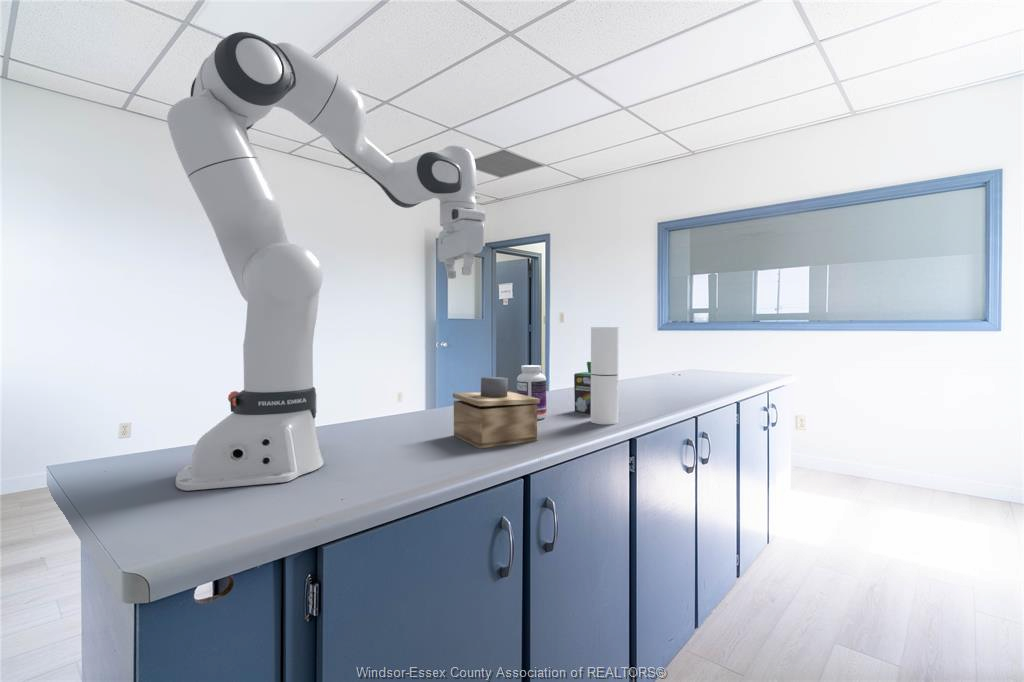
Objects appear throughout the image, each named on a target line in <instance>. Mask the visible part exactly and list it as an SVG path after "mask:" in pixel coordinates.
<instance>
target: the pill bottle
mask: <svg viewBox="0 0 1024 682" xmlns="http://www.w3.org/2000/svg"><path fill="white" fill-rule="evenodd" d="M520 368H521V372H522V373H521V374H518V376H517V378H516V393H518V394H522V395H526V396H530V397H534V398H538V399H540V403H538V404H536V405H537V421H538V420H542V419H544V418H546V416H547V378H546V376H545V374H543V373H541V372H542V365H537V364H536V365H535V364H530V365H529V364H525V365H521V367H520Z"/></svg>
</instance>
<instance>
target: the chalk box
mask: <svg viewBox="0 0 1024 682" xmlns="http://www.w3.org/2000/svg"><path fill="white" fill-rule="evenodd" d="M586 367H587V371H584V372H583V371H582V372H575V373H574V374H573V381H574V382H573V384H574V386H573V389H574V390H573V391H574V412H580V413H585V414H590V415H591V361H587V362H586Z"/></svg>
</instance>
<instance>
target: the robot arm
mask: <svg viewBox="0 0 1024 682" xmlns="http://www.w3.org/2000/svg"><path fill="white" fill-rule="evenodd" d="M274 107H275V108H280V109H284V110H286V111H288V112H290V113H292V114H293V115H294V116H295V117H296V118H298V119H299V120H301V121H302V122H303V123H305V124H306V125H307V126H309V127H311V128H312V129H313V130H315V131H316V132H318V133H319V134H320V135H322V136H323V138H325V139H326V140H327V141H329V143H330V144H331V145H332V147H333V148H334V149H335V150H336V151H337V152H338V153H339V154H341V156H343V157H344V158H345V159H346V160H347V161H348V162H350V163H351V164H353V165H354V166H355V167H356V168H357V169H359V170H360V171H361V172H362V173H364V174H365V175H366V176H368V177H369V178H370V179H371V180H372V181H374V183H376V184H377V185H378V187H380V188H381V189H382V190H383V191H384V193H385V195H386V196H387V197H388V198H389V199H390V201H392V203H394V204H395V205H396V206H399V207H401V208H404V209H405V208H406V209H409V208H413V207H416V206H417V205H419V204H421V203H425V202H428V201H430V200H432V199H437V200H439V226H440V227H442V228H443V229H442V230H440V231H439V234H438V238H437V239H438V240H437V260H438V262H443V263H444V267H445V270H446V277H447V279H449V280H451V279H452V280H453V279H456V276H457V271H456V269H455V264H456V263H455V261H457V260H458V261H459V260H461V259H463V266H462V267H461V274H462V275H463V276H470V275H472V266H473V265H474V264H473V263H474V260H475V255H477V254H481V253H482V251H483V250H484V249H483V248H484V244H485V243H484V241H485V225H484V222H485V221H486V212H485V211H482V210H479V209H478V204H477V201H476V194H477V193H476V192H477V189H478V180H477V179H478V177H477V175H478V172H477V167H476V161H475V157H474V155H473V153H472V152H471V151H470V150H469V149H467V148H465V147H463V146H460V145H459V146H458V145H448V146H446V147H444V148H443V149H441V150H439V151H435V152H434V151H427V152H424V153H420V154H419V155H416V156H414V157H412V158H410V159H409V160H406V161H402V162H401V161H396V160H393V159H391V158H390V157H389V156H387V155H386V154H385V153H384V152H383V151H382V150H380V148H378V147H377V146H376V145H375V144H373V143H372V142H371V141H370V140H369V139H368V137H367V136H366V135H365V133H364V127H365V124H366V121H367V120H366V119H367V109H366V104H365V101H364V99H363V97H362V95H361V94H360V93H359V92H358V91H357V89H356V88H355V87H354V86H353V85H352V84H351V83H350V82H348V81H347V80H346V79H345V78H343V77H342V76H341V75H340V74H338V73H337V72H336V71H335V70H333V69H332V68H331V67H329V66H327V65H326V64H325V63H323V62H322V61H321V60H319V59H317V58H316V57H314V56H313V55H311V54H310V53H308V52H307V51H304V50H302V49H301V48H299V47H297V46H296V45H293V44H291V43H288V42H278V43H272V42H271V41H270V40H268V39H266V38H264V37H263V36H261V35H258V34H254V33H252V32H248V31H239V32H238V31H237V32H234V33H232V34H229V35H228V36H226V37H224V38H223V39H222V40H220V41H219V42H218V44H217V45H216V47H215V50H213V51H212V52H211V53H210V55H209V56H207V57H206V58H205V59H204V61H203V62H202V64H201V66H200V68H199V70H198V72H197V74H196V77H195V78H194V79H193V81H192V84H191V87H190V96H189V97H185V98H183V99H180V100H179V101H177V102H175V103H174V104H172V106H171V107H170V108H169V111H168V113H167V119H166V120H167V125H168V130H169V133H170V136H171V140H172V143H173V145H174V146H173V147H174V149H175V151H176V154H177V157H178V159H179V161H180V164H181V166H182V168H183V170H184V173H185V174H186V176H187V178H188V181H189V182H190V184H191V186H192V188H193V191H194V192H195V194H196V196H197V198H198V200H199V202H200V205H202V208H203V210H204V212H205V215H206V217H207V219H208V220H209V222H210V224H211V226H212V229H213V231H214V233H215V236H216V239H217V241H218V243H219V246H220V249H221V252H222V254H223V257H224V259H225V262H226V264H227V266H228V268H229V271H230V273H231V275H232V278H233V280H234V283H235V284H236V287H237V289H238V292H239V293H240V295H241V296H242V298H243V299H244V300H245V302H247V305H246V306H247V307H246V308H247V309H246V321H245V331H244V339H243V346H242V347H243V349H242V351H243V352H242V353H243V390H241V391H240V392H239V391H237V390H234V391H231V392H230V393H229V394H228V397H227V400H228V401H229V403H230V404H229V405H230V412H231V413H230V414H229V415H227V416H226V417H225V418H224V419H222V420H221V421H220V422H218V423H217V424H216V425H215V426H213V427H211V428H210V429H209V430H208V431H207V432H205V433H204V434H203V435H201V437H200V438H199V439H198V441H197V442H196V444H195V446H194V449H193V451H192V452H193V453H192V457H191V464H190V465H187V466H185V467H183V468H182V469H180V470H179V471H178V472H177V474H176V477H175V487H176V488H177V489H179V490H182V491H197V490H198V491H199V490H211V489H223V488H234V487H247V486H256V485H266V484H277V483H278V484H279V483H287V482H290V481H293V480H294V479H296V478H298V477H299V476H302V475H305V474H309V473H311V472H314V471H316V470H317V469H320V468H321V467H322V466H323V465H324V460H323V456H322V454H321V449H320V446H319V441H318V440H319V439H318V437H317V430H316V428H317V427H316V422H315V421H316V420H315V418H316V417H317V413H318V412H317V410H318V409H317V407H318V406H317V402H318V401H317V392H316V388H315V387H314V383H313V382H314V376H313V375H314V373H313V372H314V371H313V369H314V365H313V362H314V361H313V357H314V356H313V355H314V354H313V353H314V352H313V350H314V349H313V347H314V346H313V345H314V335H315V328H316V324H317V323H316V322H317V315H318V308H319V307H318V306H319V297H320V289H321V288H322V284H323V281H324V279H323V278H324V274H323V268H322V265H321V263H320V261H319V260H318V258H317V257H316V255H314V253H312V252H311V251H310V250H308V249H307V248H304V246H300V245H297V244H295V243H294V244H293V243H289V239H288V236H287V233H286V229H285V226H284V222H283V219H282V215H281V206H280V204H279V201H278V199H277V196H276V195H275V193H274V190H273V188H272V186H271V184H270V181H269V180H268V177H267V175H266V173H265V171H264V169H263V167H262V164H261V163H260V160H259V158H258V156H257V154H256V151H255V150H254V148H253V146H252V145H251V143H250V139H249V135H248V130H250V129H251V128H252V127H253V126H254V125H255V124H256V123H257V122H259V121H260V120H262V119H264V118H265V117H266V116H267V115H268V114H269V113H270V112H271V111H272V109H273V108H274Z"/></svg>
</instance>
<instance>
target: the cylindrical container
mask: <svg viewBox="0 0 1024 682" xmlns="http://www.w3.org/2000/svg"><path fill="white" fill-rule="evenodd" d="M619 329H620V327H617V326H613V327H612V326H610V327H609V326H600V327H599V326H594V327H593V326H591V327H590V362H591V414H590V423H592V424H597V425H615V424H618V423H619V341H620V339H619V336H620V334H619V332H620V330H619Z"/></svg>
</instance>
